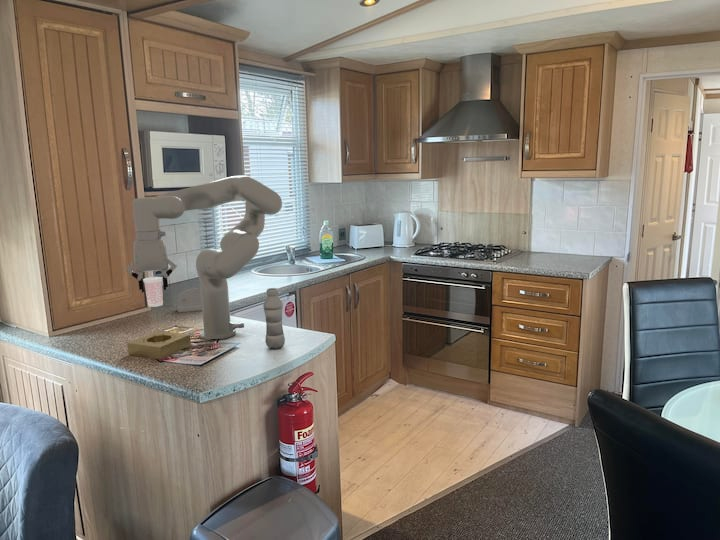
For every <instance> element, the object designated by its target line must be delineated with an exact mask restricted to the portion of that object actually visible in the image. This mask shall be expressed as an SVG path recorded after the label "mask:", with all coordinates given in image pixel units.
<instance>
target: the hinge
mask: <svg viewBox="0 0 720 540" xmlns="http://www.w3.org/2000/svg"><path fill="white" fill-rule="evenodd" d="M176 309H177V313H185V312H195V311H196V312H197V311H202V301H201V289H200V288H199V287H198V288H196V287H195V288H189V289H186V290H183V291H181V292H179V293H178V296H177V308H176Z"/></svg>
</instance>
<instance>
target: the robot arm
mask: <svg viewBox="0 0 720 540" xmlns="http://www.w3.org/2000/svg"><path fill="white" fill-rule="evenodd" d="M238 200H241V201H245V202H244V204H245V206H244V207H245V211H244V212H245V214H244V217H243V218H242V219H241V220H240V221H239V222H238V223H237V224H236V225H235V226H234V227H232V228H231V229H230V230H229V231H228V232H226V233H225V234H224V235H223V236H222V238H221V239H220V243H219V248H220V249H215V248H206V249H204V250H202V251H201V252H199V254H198V255H197V256H196V259H195V268H196V272H197V276H198V281H199V287H200V289H201V301H202V310H201V311H202V323H203V330H202V331H200V333H199V337H200V338H201V337H202V338H205V339H220V340H225V339H229V338H232V337H233V336H235V335H236V333H237V332H236V331H237V330H236V329H242V328H245V324H244V322H239V321H236V322H233V321H232V319H231V311H230V310H231V309H230V300H229V286H228V284H229V283H228V281H227V279H231V278H232V277H234V276H235V275H236V274H238V272H240V271H241V270H242V269H243V268H245V266H246V265H247V264H249V263H250V262H251V261H252V260H253V259H254V258H255V256H256V255H257V253H258V251H259V248H260V242H259V236H260V235H261V234H262V233H263V231H264V228H265V220H266V219H265V216H273V215H276V214H278V213H279V212H280V211H281V209H282V206H283V201H282V198H281V195H280V194H278V192H276V191H275V190H273V189H272V188H270V187H268V186H266V185H265V184H264V183H262V182H260V181H259V180H257V179H256V178H254V177H252V176H249V175H233V176H228V177H224V178H221V179H217V180H214V181H210V182H207V183H203V184H202V183H201V184H198V185H194V186H191V187H187V188H182V189H179V190H174V191H170V192H166V193H163V194H159V195H156V196H155V197H138V198H134V199H133V200H132V212H133V213H132V214H133V221H134V231H135V238H136V239H135V240H134V242H133V261H131V262H130V265H128V266H127V268H125V271H126V272H127V273H128V274H129V275H131V276H132V278H135V279H136V280H137V281H138V289H139V291H141V293H142V294H143V293H145V284H144V282H143V279H144V278H143V275H144V273H148V272H151V271H153V272H157V271H158V272H159V271H160V273H161V274H162V278H163V281H162V289H163V291H167V288H168V287H169V284H168V283H169V282H168V278H169V276H170V275H171V274H172V273H173V271H175V269H176V268H177V266H178V265H177V264H176V263H175V262H174V261H172V260H171V259H170V258H168V253H167V247H166V243H165V240H164V239H163V238H162V237H165V236H166V231H162V230H161V225H160V219H161V220H162V219H163V220H164V219H165V220H176V219H179V218H181V217H182V216H183V215H184V213H185V212H186V211H192V210H193V211H195V210H206V209H212V208H216V207H219V206H221V205H225V204H229V203H232V202H235V201H238ZM169 265H170V268H169V267H168V266H169ZM168 268H169V269H168ZM133 269H134V270H135V271H134V270H133ZM166 270H167V271H166ZM137 272H138V273H137ZM202 338H201V339H202ZM205 339H204V340H205Z"/></svg>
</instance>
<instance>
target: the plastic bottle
mask: <svg viewBox="0 0 720 540" xmlns="http://www.w3.org/2000/svg"><path fill="white" fill-rule="evenodd" d="M278 289H279V288H276V287H271V288H267V289H266V296H267V297H266V298H265V299H264V302H263V310H264V311H263V312H264V317H265V323H266V325H265V327H266V330H265V331H266V332H265V345H266V346H267V347H268V349H279V348H282V347H284V345H285V343H286V342H285V341H286V337H285V333H284V329H283V328H284V327H283V308H284V307H283V306H284V304H283V301H282V300H281V298H280V297H279V296H278V295H279V290H278Z"/></svg>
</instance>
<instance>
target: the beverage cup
mask: <svg viewBox="0 0 720 540" xmlns="http://www.w3.org/2000/svg"><path fill="white" fill-rule="evenodd" d="M150 272H151V276H150V277H149V276H148V277H145V278H142V279H143V283H144V291H145V294H146V295H145V296H146V301H147V306H148V307H149V308H155V307H157V308H158V307H161V306H163V305H164V299H163V298H164V297H163V296H164V294H163V276H154V271H150Z"/></svg>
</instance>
